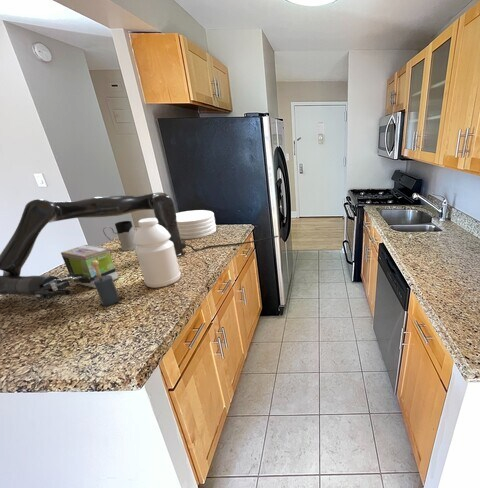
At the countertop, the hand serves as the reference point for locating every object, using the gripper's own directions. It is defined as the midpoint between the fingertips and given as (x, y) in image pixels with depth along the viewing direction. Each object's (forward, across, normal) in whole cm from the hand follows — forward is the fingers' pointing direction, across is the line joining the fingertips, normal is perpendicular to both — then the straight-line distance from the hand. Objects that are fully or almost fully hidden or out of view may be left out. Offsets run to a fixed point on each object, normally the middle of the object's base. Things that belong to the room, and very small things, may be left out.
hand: (80, 285), depth 98 cm
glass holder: (-24, +52, +7) cm, 58 cm away
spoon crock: (+10, 0, +7) cm, 12 cm away
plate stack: (+2, +82, +7) cm, 82 cm away
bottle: (+20, +17, +7) cm, 27 cm away
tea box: (-10, +16, +7) cm, 20 cm away
